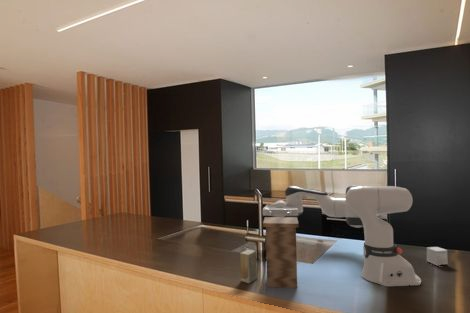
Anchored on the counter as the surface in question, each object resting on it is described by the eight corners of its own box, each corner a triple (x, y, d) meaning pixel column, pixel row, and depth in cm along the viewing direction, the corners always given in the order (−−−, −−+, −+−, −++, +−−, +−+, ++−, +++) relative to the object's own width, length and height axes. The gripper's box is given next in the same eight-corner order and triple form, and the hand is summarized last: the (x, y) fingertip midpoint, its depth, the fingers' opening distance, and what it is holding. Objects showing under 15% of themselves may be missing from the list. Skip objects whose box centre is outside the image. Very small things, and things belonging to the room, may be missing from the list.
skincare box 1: (249, 276, 137) (248, 248, 137) (257, 278, 135) (256, 250, 135) (240, 281, 132) (239, 252, 132) (248, 283, 130) (247, 254, 130)
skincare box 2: (436, 267, 143) (436, 251, 143) (426, 262, 149) (426, 247, 149) (448, 266, 144) (447, 250, 144) (437, 261, 150) (437, 246, 150)
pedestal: (298, 277, 135) (297, 217, 135) (299, 289, 123) (298, 223, 123) (266, 276, 137) (264, 217, 137) (264, 287, 125) (262, 223, 125)
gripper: (298, 215, 184) (299, 219, 170) (263, 215, 187) (262, 219, 173) (298, 204, 184) (299, 208, 170) (263, 204, 187) (261, 208, 174)
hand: (280, 213), depth 172 cm, fingers open, 8 cm apart
